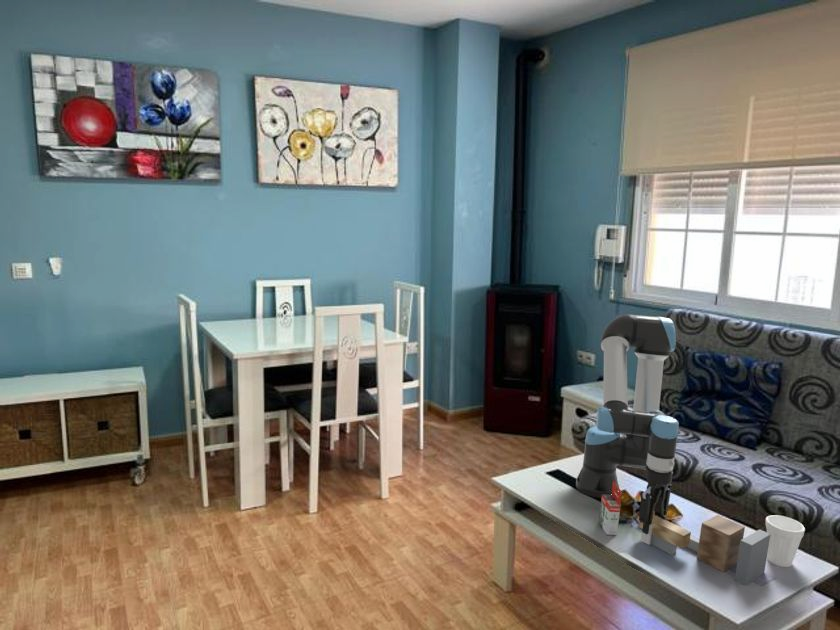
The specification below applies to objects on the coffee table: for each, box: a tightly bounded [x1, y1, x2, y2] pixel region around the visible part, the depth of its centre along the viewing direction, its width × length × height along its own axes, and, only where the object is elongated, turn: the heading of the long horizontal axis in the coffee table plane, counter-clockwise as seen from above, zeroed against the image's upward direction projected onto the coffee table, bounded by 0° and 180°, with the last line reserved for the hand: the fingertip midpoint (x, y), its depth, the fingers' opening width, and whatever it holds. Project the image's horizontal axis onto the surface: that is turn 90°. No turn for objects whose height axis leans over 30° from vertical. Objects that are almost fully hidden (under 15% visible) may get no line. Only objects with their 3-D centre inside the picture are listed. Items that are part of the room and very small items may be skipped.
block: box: [696, 514, 746, 573], centre depth 176 cm, size 8×9×11 cm
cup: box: [765, 514, 806, 568], centre depth 178 cm, size 10×10×13 cm
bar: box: [638, 514, 692, 549], centre depth 182 cm, size 14×4×4 cm, turn 37°
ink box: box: [598, 481, 623, 536], centre depth 193 cm, size 4×8×15 cm, turn 2°
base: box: [685, 529, 771, 586], centre depth 178 cm, size 26×11×13 cm, turn 37°
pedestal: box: [649, 534, 678, 556], centre depth 183 cm, size 8×2×5 cm, turn 37°
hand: (650, 540), depth 186 cm, fingers closed on bar, 4 cm apart
